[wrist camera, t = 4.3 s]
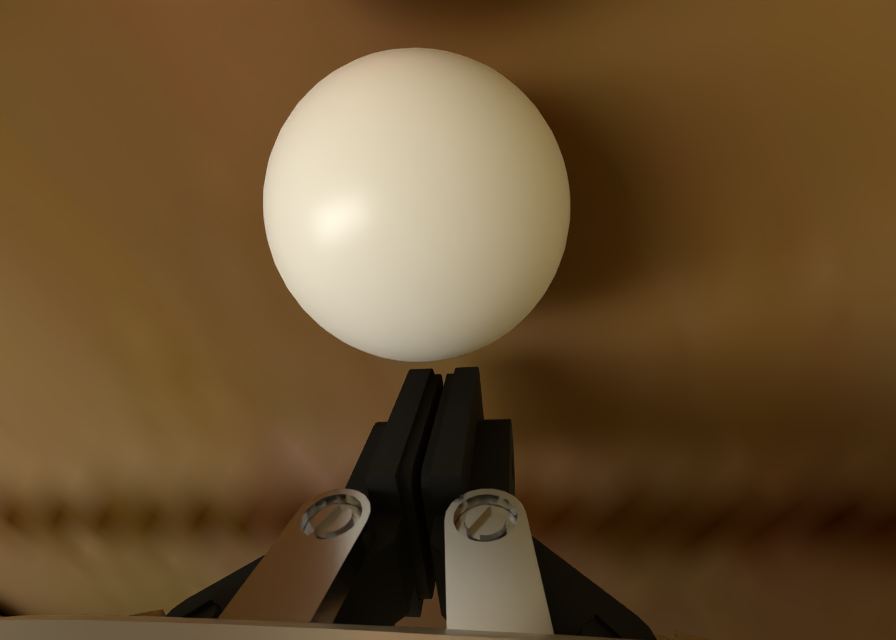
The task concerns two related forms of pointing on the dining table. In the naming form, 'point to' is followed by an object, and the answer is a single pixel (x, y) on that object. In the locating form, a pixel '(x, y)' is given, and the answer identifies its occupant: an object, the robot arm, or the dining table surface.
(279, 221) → the cue ball
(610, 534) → the dining table surface
